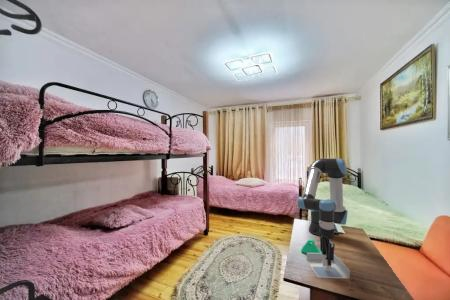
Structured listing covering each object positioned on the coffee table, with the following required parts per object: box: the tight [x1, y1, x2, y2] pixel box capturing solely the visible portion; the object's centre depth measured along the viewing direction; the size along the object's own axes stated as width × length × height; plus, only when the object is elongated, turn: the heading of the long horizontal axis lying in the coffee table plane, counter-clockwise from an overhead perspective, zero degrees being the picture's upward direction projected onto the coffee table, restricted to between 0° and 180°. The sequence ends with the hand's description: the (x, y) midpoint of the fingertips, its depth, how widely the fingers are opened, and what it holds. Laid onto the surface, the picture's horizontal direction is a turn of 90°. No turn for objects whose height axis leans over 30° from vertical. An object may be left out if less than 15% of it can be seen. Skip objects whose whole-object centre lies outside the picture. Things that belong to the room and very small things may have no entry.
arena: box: [306, 253, 351, 280], centre depth 115 cm, size 17×17×5 cm
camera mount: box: [300, 238, 322, 254], centre depth 133 cm, size 12×8×10 cm, turn 55°
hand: (326, 267), depth 112 cm, fingers open, 3 cm apart
